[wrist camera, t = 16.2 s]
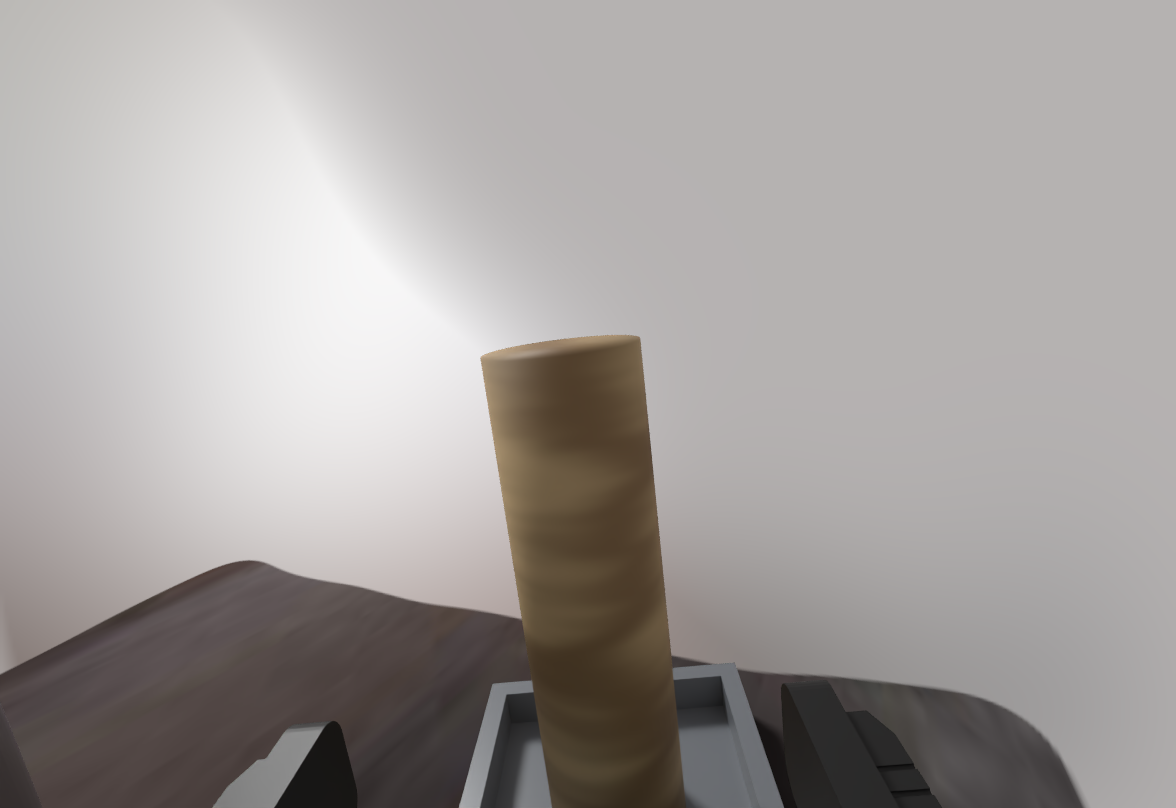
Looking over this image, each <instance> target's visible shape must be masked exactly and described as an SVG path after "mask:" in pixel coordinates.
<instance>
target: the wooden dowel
mask: <svg viewBox="0 0 1176 808" xmlns="http://www.w3.org/2000/svg"><path fill="white" fill-rule="evenodd" d="M481 364H482V370H483V376H484V383H485V389H486V396H487V401H488V408H489V414H490V421H491V427H492V433H493V440H494V446H495V452H496V458H497V464H498V471H499V477H500V484H501V490H502V496H503V502H504V509H505V515H506V521H507V528H508V534H509V540H510V546H511V552H512V559H513V565H514V571H515V578H516V584H517V590H518V597H519V603H520V610H521V616H522V622H523V628H524V635H525V641H526V647H527V654H528V660H529V666H530V672H531V679H532V685H533V691H534V698H535V704H536V710H537V716H538V723H539V729H540V735H541V742H542V748H543V754H544V761H545V767H546V773H547V779H548V786H549V792H550V798H551V805H552V808H686V802H685V791H684V781H683V771H682V761H681V750H680V740H679V730H678V720H677V710H676V699H675V689H674V679H673V669H672V659H671V649H670V639H669V629H668V619H667V608H666V598H665V588H664V577H663V567H662V557H661V547H660V536H659V526H658V516H657V506H656V496H655V485H654V475H653V465H652V455H651V444H650V434H649V424H648V414H647V405H646V393H645V383H644V374H643V363H642V354H641V342H640V337H638V336H632V335H605V336H590V337H578V338H570V339H560V340H553V341H545V342H539V343H532V344H527V345H521V346H516V347H511V348H506V349H502V350H498V351H494V352H491V353H488V354H485V355H483V356H481Z"/></svg>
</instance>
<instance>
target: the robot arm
mask: <svg viewBox="0 0 1176 808" xmlns="http://www.w3.org/2000/svg"><path fill="white" fill-rule="evenodd" d="M781 699H782V717H783V735H784V752H785V763H786V769H787V774H788V779H789V783H790V787H791V791H792V794H793V797H794V800H795V803H796V806H797V808H942V807H941V805H940V804H939V802H938V800H937V799H936V797H935V796H934V795H932V794H931V792H930V788H929V786H928V785H927V783H926V782H925V780H924V779H923V777H922V776H921V774H920V772H919V771H918V769H915V767H914V763H913V762H912V760H911V758H910V757H909V755H908V754H907V752H906V751H905V749H904V747H903V746H902V744H901V743H900V741H899V740H898V738H897V737H896V735H895V734H894V733H893V732H892V731H891V730H889V729H888V728H887V727H886V726H885V725H883V724H882V723H881V722H880V721H879V720H877V719H876V718H875V717H874V716H872V715H871V714H870V713H869V712H868V711H855V712H845V710H844V708H843V707H842V705H841V703H840V701H839V699H838V698H837V696H836V694H835V692H834V691H833V689H832V687H831V685H830V684H829V683H828V681H826V680H817V681H806V682H794V683H783V684H782V687H781ZM0 808H42V805H41V802H40V799H39V797H38V794H37V792H36V789H35V787H34V784H33V782H32V779H31V777H30V775H29V772H28V770H27V767H26V765H25V762H24V760H23V757H22V755H21V752H20V750H19V747H18V745H17V742H16V740H15V737H14V735H13V732H12V730H11V727H10V725H9V722H8V720H7V717H6V715H5V712H4V710H3V707H2V705H1V703H0ZM212 808H357V788H356V784H355V780H354V776H353V772H352V768H351V764H350V760H349V756H348V752H347V748H346V745H345V741H344V737H343V733H342V729H341V727H340V725H339V724H338V723H337V722H336V721H328V722H317V723H305V724H295V725H292V726H290V727H289V728H288V729H287V730H286V731H285V733H284V734H283V735H282V737H281V738H280V740H279V741H278V742H277V744H276V745H275V747H274V748H273V750H272V751H271V752H270V754H269V755H268V757H267V758H266V759H263V760H257V761H256V762H255V763H254V764H253V765H252V766H251V767H250V768H248V769H247V770H246V771H245V772H244V773H243V774H242V775H240V776H239V777H238V778H237V779H236V780H235V781H234V782H233V783H231V784H230V785H229V786H228V787H227V789H226V790H225V791H224V793H223V794H222V795H221V797H220V798H219V799H218V801H217V802H216V803H215V805H214V806H213V807H212Z"/></svg>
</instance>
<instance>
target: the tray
mask: <svg viewBox="0 0 1176 808" xmlns="http://www.w3.org/2000/svg"><path fill="white" fill-rule="evenodd" d="M672 669H673V679H674V689H675V699H676V710H677V720H678V730H679V740H680V750H681V761H682V771H683V781H684V791H685V802H686V808H784V806H783V803H782V800H781V797H780V794H779V792H778V789H777V786H776V783H775V780H774V777H773V774H772V771H771V768H770V765H769V762H768V759H767V756H766V753H765V750H764V748H763V745H762V742H761V739H760V736H759V733H758V730H757V727H756V724H755V721H754V718H753V715H752V712H751V709H750V706H749V704H748V701H747V698H746V695H745V692H744V689H743V686H742V683H741V680H740V677H739V674H738V671H737V668H736V665H735V663H725V664H713V665H702V666H691V667H680V668H672ZM459 808H552V805H551V798H550V792H549V786H548V779H547V773H546V767H545V761H544V754H543V748H542V742H541V735H540V729H539V723H538V716H537V710H536V704H535V698H534V691H533V685H532V681H521V682H510V683H498V684H493V685H492V689H491V692H490V696H489V700H488V703H487V707H486V711H485V715H484V718H483V722H482V726H481V729H480V733H479V737H478V740H477V744H476V748H475V751H474V755H473V759H472V762H471V766H470V770H469V773H468V777H467V781H466V784H465V788H464V792H463V795H462V799H461V803H460V806H459Z"/></svg>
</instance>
